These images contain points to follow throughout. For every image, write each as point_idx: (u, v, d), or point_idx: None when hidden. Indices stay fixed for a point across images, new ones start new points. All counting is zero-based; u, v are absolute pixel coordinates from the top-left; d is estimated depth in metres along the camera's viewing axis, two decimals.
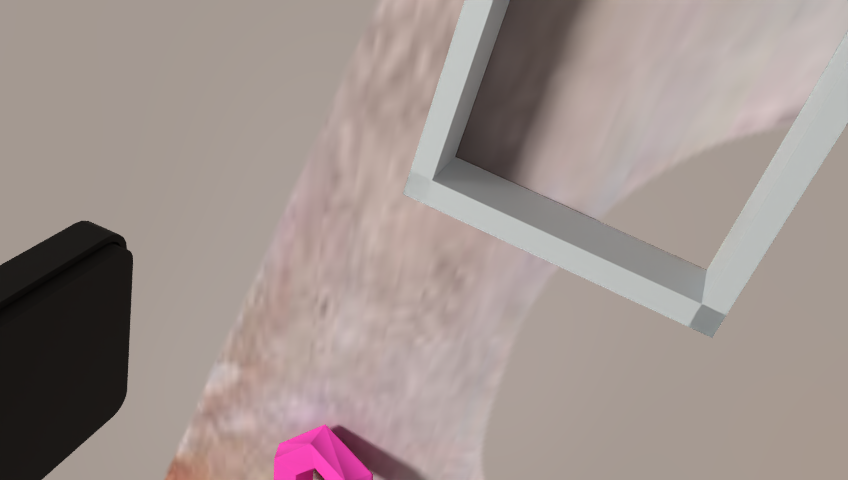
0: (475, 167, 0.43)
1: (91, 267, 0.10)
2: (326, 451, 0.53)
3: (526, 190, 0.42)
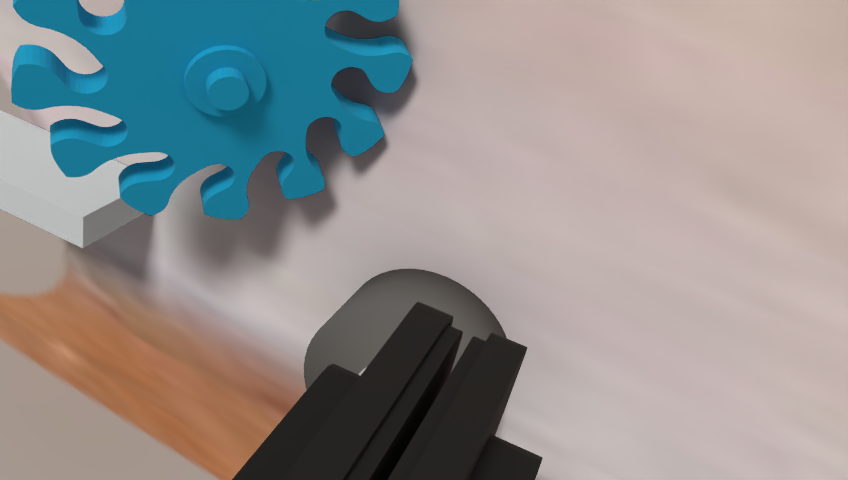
0: None
1: (443, 352, 0.10)
2: None
3: None
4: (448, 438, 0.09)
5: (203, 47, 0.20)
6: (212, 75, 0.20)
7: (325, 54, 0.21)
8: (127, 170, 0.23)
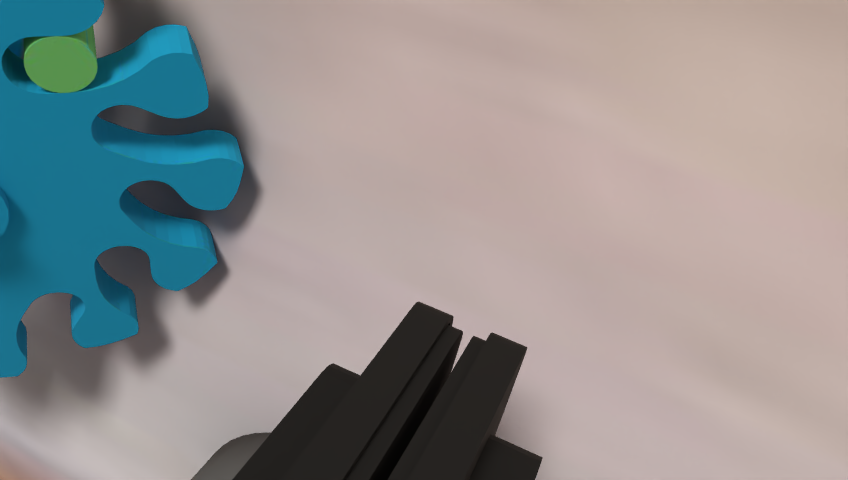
0: None
1: (443, 352, 0.10)
2: None
3: None
4: (449, 438, 0.09)
5: None
6: None
7: (100, 166, 0.14)
8: None
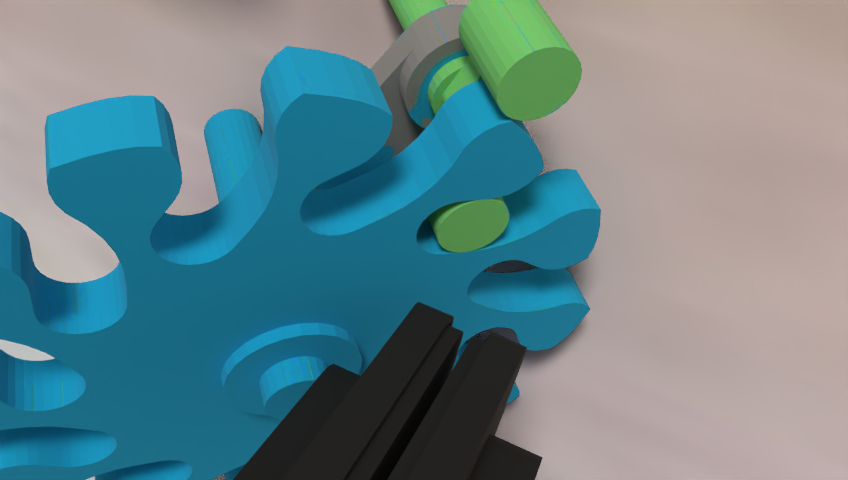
0: None
1: (444, 352, 0.10)
2: None
3: None
4: (448, 438, 0.09)
5: (262, 332, 0.11)
6: (274, 373, 0.11)
7: (459, 318, 0.12)
8: None
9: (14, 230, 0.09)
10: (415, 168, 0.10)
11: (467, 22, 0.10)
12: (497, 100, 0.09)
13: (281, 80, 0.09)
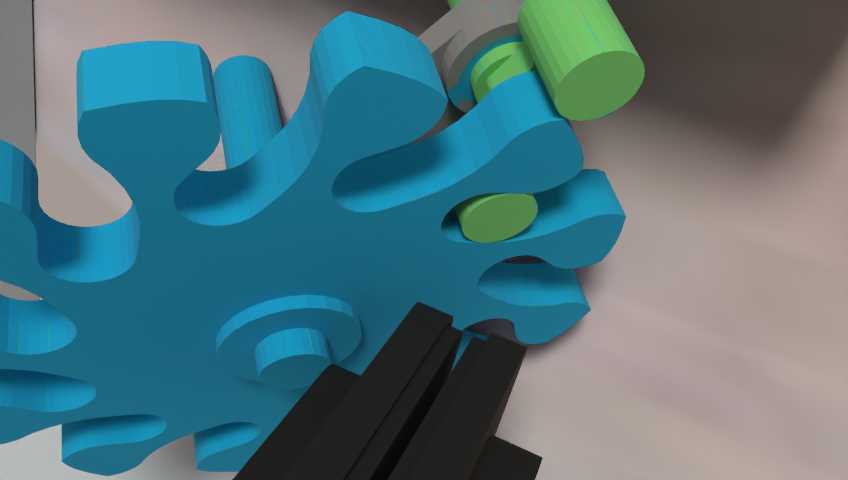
0: None
1: (443, 352, 0.10)
2: None
3: None
4: (448, 438, 0.09)
5: (267, 299, 0.11)
6: (273, 342, 0.11)
7: (464, 306, 0.12)
8: None
9: (26, 166, 0.09)
10: (452, 153, 0.10)
11: (530, 9, 0.09)
12: (555, 97, 0.09)
13: (338, 47, 0.08)
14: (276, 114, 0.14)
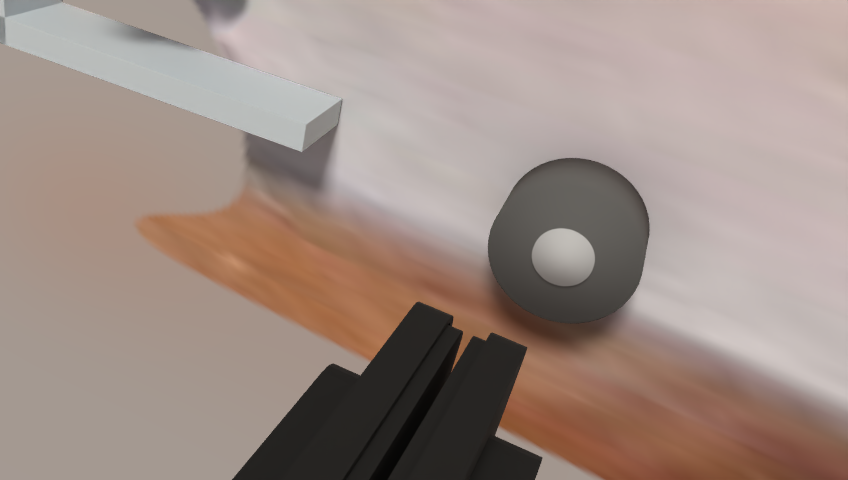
0: None
1: (443, 352, 0.10)
2: None
3: None
4: (448, 438, 0.09)
5: None
6: None
7: None
8: None
9: None
10: None
11: None
12: None
13: None
14: None
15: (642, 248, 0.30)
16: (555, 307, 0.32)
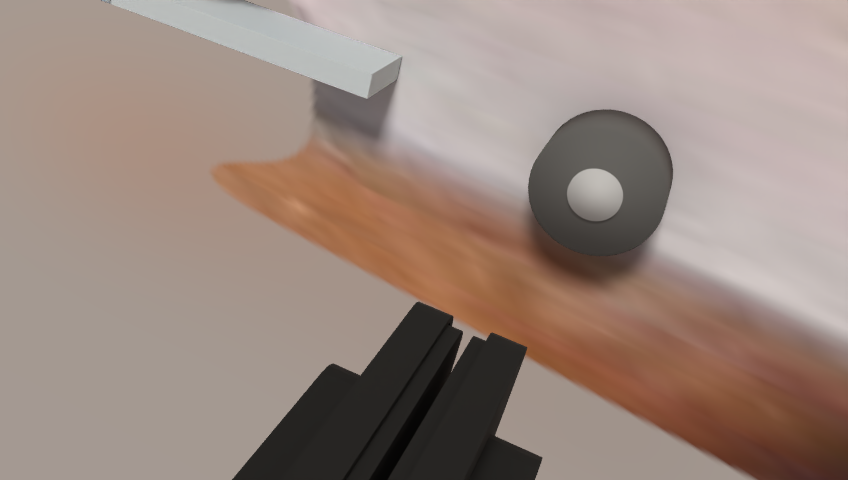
0: None
1: (443, 352, 0.10)
2: None
3: None
4: (448, 438, 0.09)
5: None
6: None
7: None
8: None
9: None
10: None
11: None
12: None
13: None
14: None
15: (665, 186, 0.34)
16: (586, 241, 0.37)
